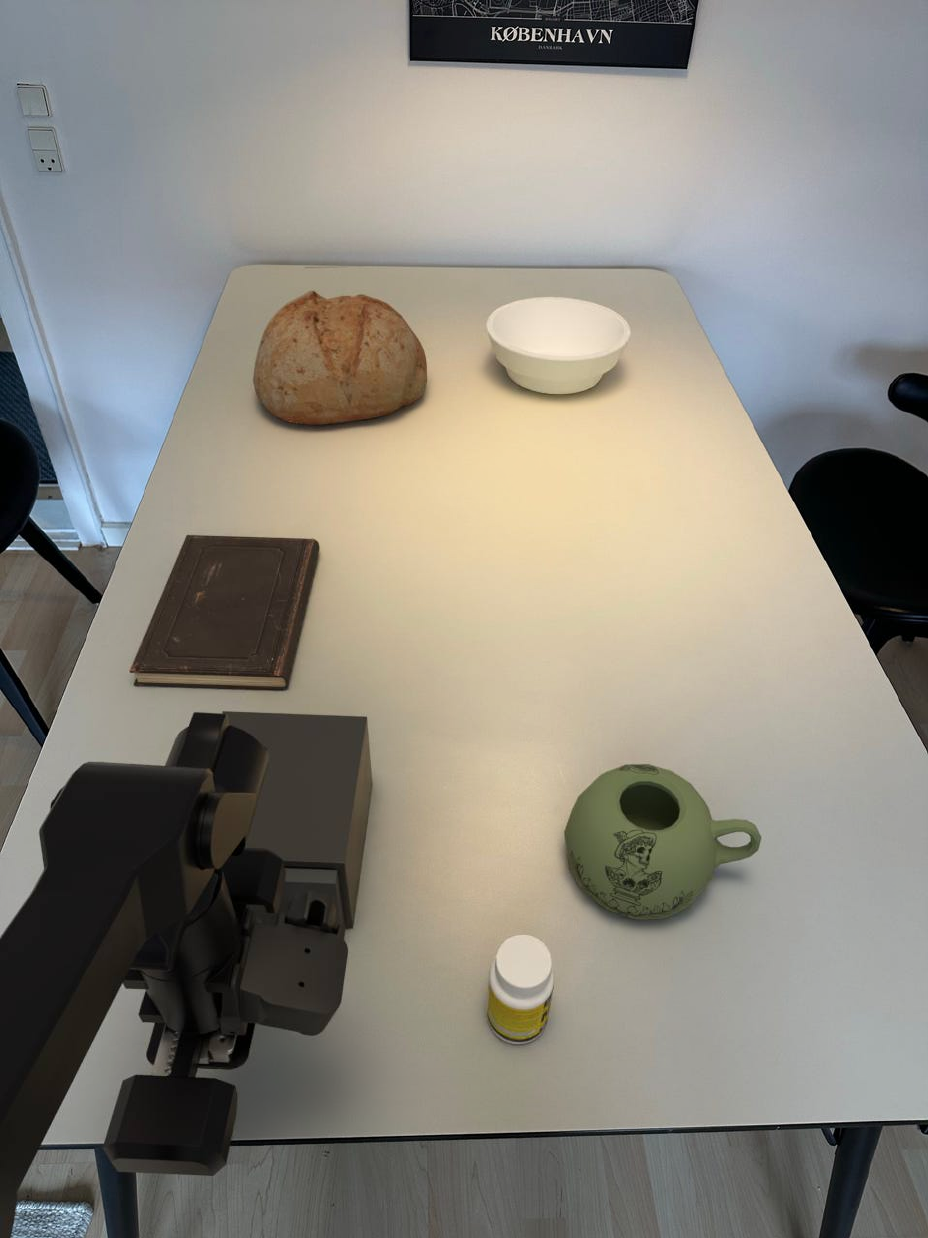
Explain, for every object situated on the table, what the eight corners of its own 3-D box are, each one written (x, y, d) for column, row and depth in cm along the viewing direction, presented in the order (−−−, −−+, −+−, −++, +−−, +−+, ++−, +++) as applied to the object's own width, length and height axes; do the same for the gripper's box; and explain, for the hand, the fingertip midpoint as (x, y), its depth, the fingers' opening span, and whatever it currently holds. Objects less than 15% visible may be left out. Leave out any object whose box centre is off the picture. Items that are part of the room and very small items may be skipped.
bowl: (580, 335, 157) (585, 287, 151) (650, 394, 142) (659, 343, 136) (461, 357, 150) (462, 308, 144) (522, 421, 135) (526, 369, 129)
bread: (420, 356, 150) (419, 265, 140) (436, 428, 133) (436, 331, 123) (259, 363, 147) (245, 271, 137) (253, 438, 130) (238, 340, 120)
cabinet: (353, 928, 74) (344, 863, 67) (200, 922, 74) (177, 856, 68) (372, 784, 85) (367, 716, 78) (239, 779, 85) (222, 710, 78)
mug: (554, 917, 75) (564, 859, 69) (566, 792, 84) (576, 731, 78) (751, 948, 73) (778, 891, 67) (740, 817, 83) (763, 757, 77)
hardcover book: (134, 686, 93) (129, 670, 92) (190, 549, 110) (186, 534, 109) (288, 691, 93) (285, 675, 92) (320, 553, 110) (318, 538, 109)
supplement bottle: (549, 1046, 67) (559, 995, 61) (486, 1045, 67) (490, 993, 61) (546, 984, 71) (555, 929, 65) (485, 983, 71) (489, 928, 65)
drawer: (335, 987, 69) (327, 936, 64) (188, 981, 69) (167, 929, 64) (362, 798, 82) (357, 743, 77) (238, 793, 82) (225, 738, 77)
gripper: (301, 1123, 42) (329, 1222, 52) (352, 796, 56) (366, 926, 66) (63, 1112, 42) (138, 1213, 53) (173, 789, 56) (215, 920, 66)
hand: (228, 1051), depth 59 cm, fingers closed
